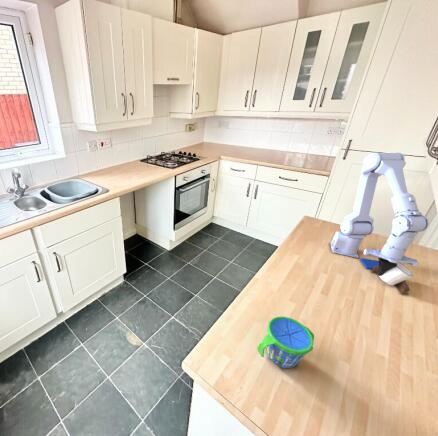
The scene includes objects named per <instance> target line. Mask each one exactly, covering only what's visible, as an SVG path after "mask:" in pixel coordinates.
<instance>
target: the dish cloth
mask: <svg viewBox="0 0 438 436" xmlns="http://www.w3.org/2000/svg"><path fill="white" fill-rule="evenodd" d="M359 260H360V262H361V263H362V265H363V266H364V267H365V269H366V270H370V271H372V269H373V267H374V265H376V266H379V260H375V259H369V258H363V257H360V259H359Z"/></svg>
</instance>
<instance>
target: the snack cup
mask: <svg viewBox="0 0 438 436" xmlns="http://www.w3.org/2000/svg"><path fill="white" fill-rule="evenodd" d="M266 331H267V334H266V335H265V336H264V337H263V338H262V340H261V341H260V343H258V344H257V347H256V349H257V352H258V354H259V355H260V357H262V358H265V349H266V352H267V355H268V358H269V359H270V360H271V361H272V362H273V363H274V364H275V365H277V366H279V367H280V368H283V369H291V368H294V367H295V366H296V365H297V364H298V363H299V362H300V361H301V360H302V359H303V358H304V357H305V356H306V355H307V354H309V353H310V352H311V351H313V349H314V340H315V334H314V333H313V331H312V330H311V329H309V327H307V326H305V325H304V324H302V323H301V322H300V321H298V320H296V319H294V318H291V317H288V316H284V315H280V316H279V315H278V316H274V317H272V318H271V319H269V321H268V324H267V329H266Z"/></svg>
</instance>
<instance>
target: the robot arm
mask: <svg viewBox="0 0 438 436" xmlns="http://www.w3.org/2000/svg"><path fill="white" fill-rule="evenodd" d="M406 164H407V162H406V160H405V155H404V154H403V153H402V152H371V153H369V154H368V155H367V156H366V157H364V158H363V163H362V167H361V170H360V171H361V172H360V176H359V181H358V185H357V190H356V196H355V199H354V203H353V208H352V212H351V213H349V214H347V215H345V216H343V217H344V218H343V221H342V222H341V224H340V227H339V228H340V231H339V230H338V231H335V233H334V235H333V237H332V239H331V242H330V248H331V252H332V253H333V254H338V255H343V256H347V257H351V258H355V259H358V258H359V255H358V250H359V248H360V246H361V244H362V243H363V240H364V238H367V237H368V236H370V235H372V233H373V232H374V230H375V229H374V221H375V219H374V218H373V217H372V216H370V213H371V209H372V203H373V200H374V196H375V191H376V187H377V183H378V179H379V177H381V176H384V177H385V178H386V180H387V183H388V185H389V187H390V189H391V192H392V194H393V196H392V197H391V198H390V203H391V207H392V210H393V213H394V217H395V218H393V219H392V222H391V223H392V224H391V225H392V228H391V233H390V235H389V236H388V238H387V240H386V242H385V244H384V245H383V247H382V248H381V249H372V248H371V249H370V248H365V249H364V250H363V255H364V256H366V257H368V256H370V257H374V258H377V259H378V261H379V269H378V271H377V274H376V275H377V276H378V277H379V276H382V275H383V273H385V272H386V271H388V270H389V269H391V268H394V267H396V266H397V262H399V263H401V264H405V265H410V266H412V267H415V268H416V267H417V265H418V264H419V261H418V260H417V259H415V258H411V257H409V256H406V255H405V254H406V252H407V251H408V249H409V248H410V246H411V245H412V243H413V241H414V240H415V238H416V237H417V235H418V233H419V232H424V231H426V230H427V229H428V227H429V219H428V217H427V216H425V215H423V213H422V212H421V211H419V210H420V209H419V207H418V204H417V200H416V196H415V195H414V194H412V193H410V192H408V189H407V188H408V187H407V185H406V178H405V174H404V168H405V167H406Z"/></svg>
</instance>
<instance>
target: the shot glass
mask: <svg viewBox="0 0 438 436" xmlns="http://www.w3.org/2000/svg"><path fill="white" fill-rule="evenodd" d="M378 277H379V278H380V279H381V281H383V282H384V283H386V284H387V285H389V286H393V287H394V286H395V285H397V284H398V283H400V282H402V281H404V280H405V281H406V280H409V279H411V278H413V277H414V274H413V272H412V271H411V270H410V269H409V268H408V267H407V266H405V265H404V264H403V263H401V262H397V266H396V267H394V268H391V269H389V270H388V271H386V272H385V273H383V275H382V276H378Z"/></svg>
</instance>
